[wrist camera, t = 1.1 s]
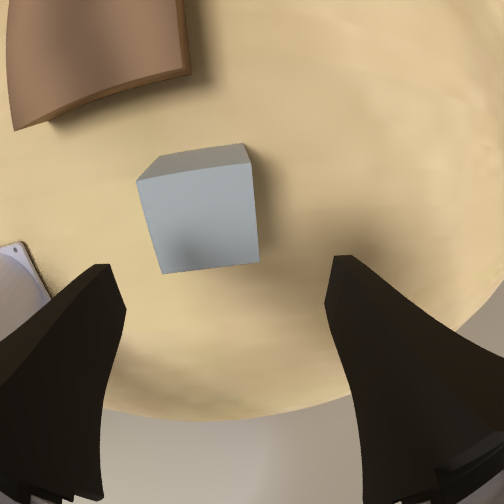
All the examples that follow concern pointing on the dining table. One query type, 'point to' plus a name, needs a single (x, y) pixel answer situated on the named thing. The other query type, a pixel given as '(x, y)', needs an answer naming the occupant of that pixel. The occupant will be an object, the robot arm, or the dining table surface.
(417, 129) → the dining table surface
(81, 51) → the walnut block
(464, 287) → the dining table surface
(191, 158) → the gray cube
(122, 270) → the dining table surface
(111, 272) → the robot arm
